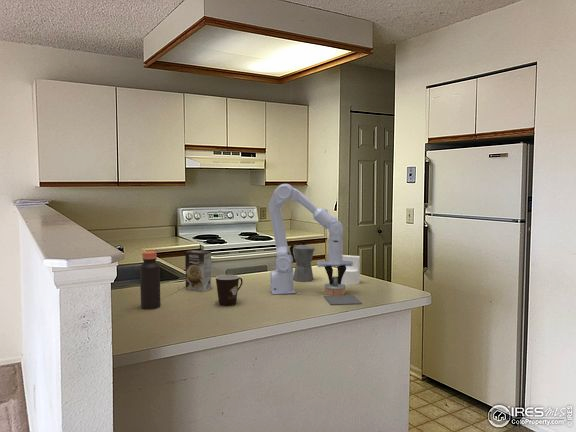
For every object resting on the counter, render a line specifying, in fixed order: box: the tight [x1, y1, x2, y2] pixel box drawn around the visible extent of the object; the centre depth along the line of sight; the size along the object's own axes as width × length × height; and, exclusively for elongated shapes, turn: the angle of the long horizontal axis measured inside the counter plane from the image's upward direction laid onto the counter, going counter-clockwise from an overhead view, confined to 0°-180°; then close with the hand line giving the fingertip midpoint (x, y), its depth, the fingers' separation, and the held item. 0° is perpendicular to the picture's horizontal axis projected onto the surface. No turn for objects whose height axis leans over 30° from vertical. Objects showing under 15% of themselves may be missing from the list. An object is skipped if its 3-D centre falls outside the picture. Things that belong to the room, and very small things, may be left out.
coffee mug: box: [215, 274, 243, 307], centre depth 170 cm, size 12×9×10 cm
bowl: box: [324, 287, 346, 296], centre depth 186 cm, size 8×8×2 cm
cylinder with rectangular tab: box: [341, 254, 361, 286], centre depth 204 cm, size 9×9×12 cm
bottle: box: [139, 250, 162, 310], centre depth 165 cm, size 7×7×20 cm
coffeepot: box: [289, 240, 316, 283], centre depth 210 cm, size 15×9×18 cm, turn 44°
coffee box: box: [184, 249, 212, 293], centre depth 191 cm, size 9×6×16 cm
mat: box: [323, 294, 363, 306], centre depth 175 cm, size 12×12×1 cm
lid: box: [324, 276, 346, 290], centre depth 186 cm, size 8×8×4 cm
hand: (335, 284), depth 186 cm, fingers open, 3 cm apart
